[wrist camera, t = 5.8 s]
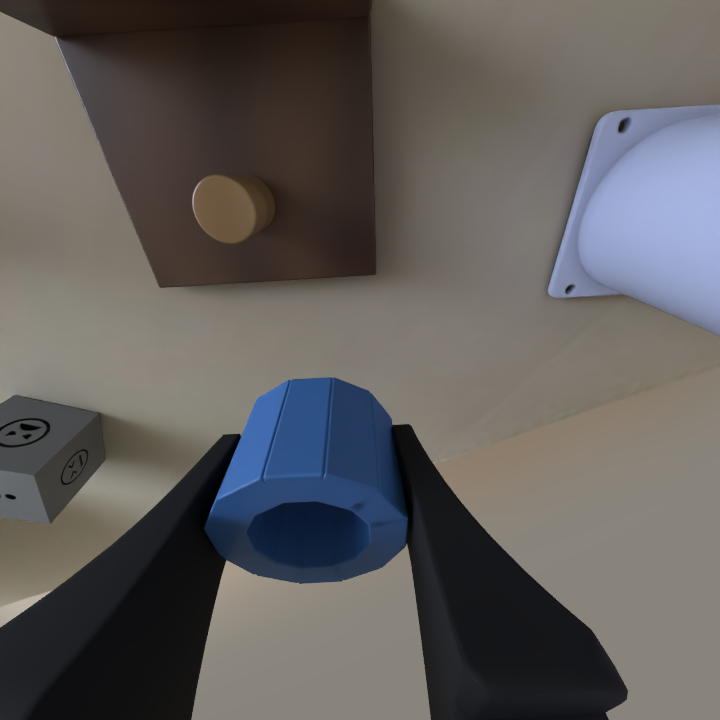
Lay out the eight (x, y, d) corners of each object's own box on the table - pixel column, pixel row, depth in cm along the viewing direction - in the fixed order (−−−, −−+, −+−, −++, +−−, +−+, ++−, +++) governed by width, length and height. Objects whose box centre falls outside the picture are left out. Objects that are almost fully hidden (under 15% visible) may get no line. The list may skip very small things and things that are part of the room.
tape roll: (391, 372, 10) (412, 469, 7) (390, 475, 13) (404, 578, 10) (231, 382, 10) (173, 483, 7) (265, 482, 13) (237, 587, 10)
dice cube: (13, 395, 19) (-80, 456, 15) (99, 413, 20) (33, 475, 16) (30, 445, 22) (-47, 510, 18) (105, 459, 23) (50, 524, 19)
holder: (367, -16, 10) (380, -145, 6) (375, 270, 16) (384, 305, 12) (58, 4, 11) (-139, -110, 6) (169, 282, 16) (102, 321, 12)
